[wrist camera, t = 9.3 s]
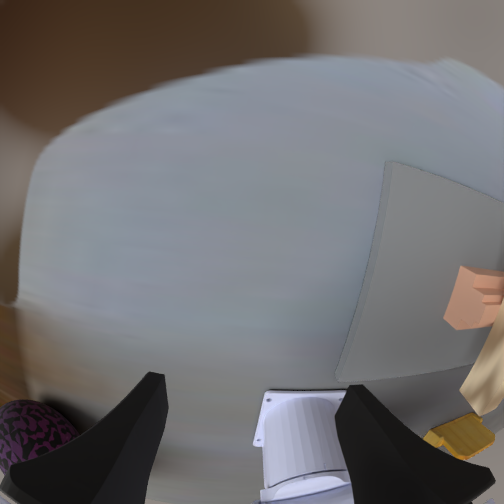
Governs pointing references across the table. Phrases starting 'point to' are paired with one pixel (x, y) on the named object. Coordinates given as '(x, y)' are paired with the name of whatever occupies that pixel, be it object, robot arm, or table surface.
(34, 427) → the toy ball
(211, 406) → the table surface
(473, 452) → the yellow toy chair
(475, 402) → the pine batten
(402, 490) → the robot arm
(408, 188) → the board
